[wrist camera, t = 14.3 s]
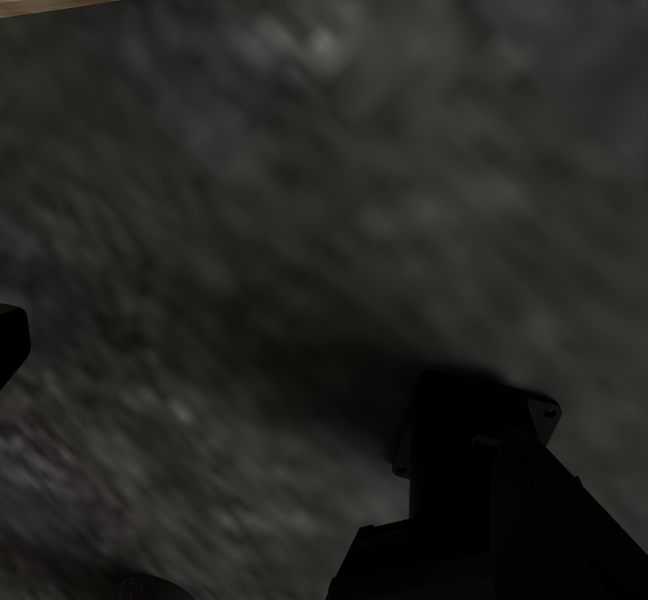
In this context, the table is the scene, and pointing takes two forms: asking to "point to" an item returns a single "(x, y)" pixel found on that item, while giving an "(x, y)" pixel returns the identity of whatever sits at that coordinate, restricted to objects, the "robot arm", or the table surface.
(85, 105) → the table surface
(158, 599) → the travel mug
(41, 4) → the sliding-lid wooden box
